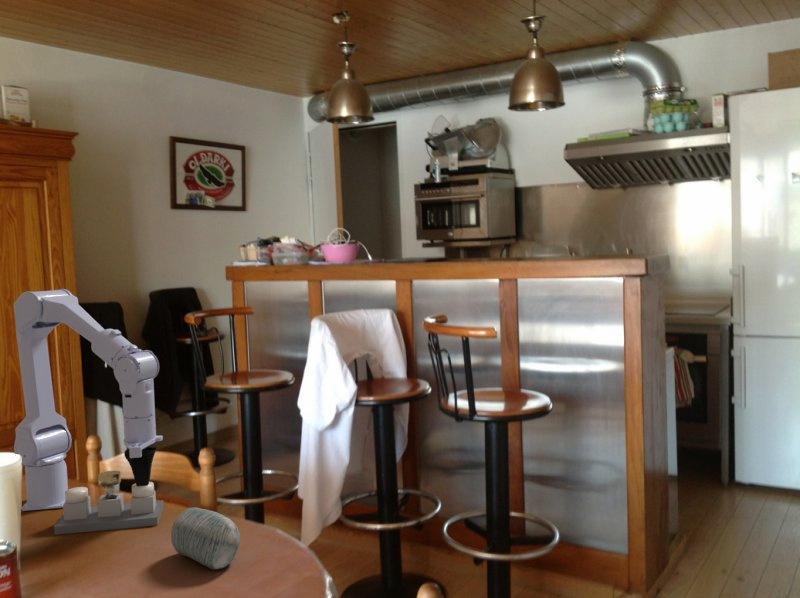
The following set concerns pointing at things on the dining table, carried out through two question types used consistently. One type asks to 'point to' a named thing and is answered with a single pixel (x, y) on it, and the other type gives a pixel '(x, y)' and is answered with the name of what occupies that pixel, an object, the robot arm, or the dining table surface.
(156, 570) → the dining table surface
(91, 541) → the dining table surface
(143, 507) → the mount
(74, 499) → the ivory knob
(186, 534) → the spool
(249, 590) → the dining table surface
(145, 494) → the ivory knob
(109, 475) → the brass knob
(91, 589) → the dining table surface
